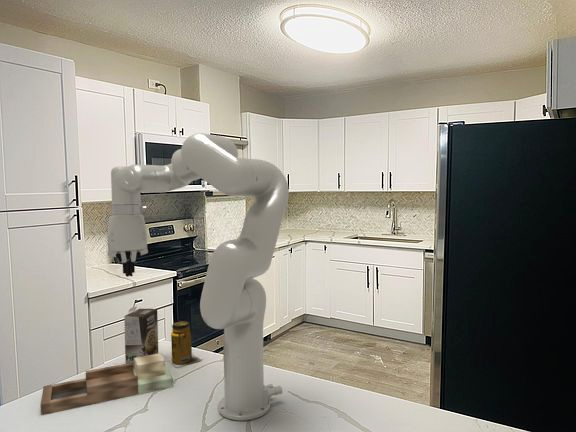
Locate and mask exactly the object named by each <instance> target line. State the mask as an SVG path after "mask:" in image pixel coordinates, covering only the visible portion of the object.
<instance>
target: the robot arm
mask: <svg viewBox="0 0 576 432" xmlns="http://www.w3.org/2000/svg"><path fill="white" fill-rule="evenodd" d="M171 156H172V157H171V163H169V164H165V165H156V164H131V165H127V166H125V165H124V166H123V165H121V166H114V167H113V168H111V170H110V180H111V181H110V185H111V210H112V212H111V213H112V215H110V216H108V217H109V218H108V225H107V226H108V227H107V248H108V249H107V256H108V257H113V258H117V259H118V260H120V261H121V262H122V273H123V274H125V276H126V277H127V278H128V277H133V276H134V275H133V274H134V273H136V272H135V271H136V270H135V269H136V267H135V262H137V261H136V260H138V258H139V257H140V256H144V255H146V254H148V253H149V250H148V236H147V226H146V221H145V217H144V214H142V213H144V212H147V206H146V205H145V206H144V205H142V204H141V203H142V202H141V193H142V194H145V193H146V194H149V193H167V192H168V193H169V192H172V191H175V190H178V189H182V188H185V187H187V186H189V185H190V184H191V183H192V182H194V181H198V180H200V179H202V180H204V181H205V182H206V183H207V184H208V185H210V186H211V187H212V188H215V189H216V190H217V191H218V192H220V193H222V194H224V195H226V196H229V197H237V198H238V197H253V202H252V203H251V205H250V206H249V208H248V209H247V211H246V213H245V216H244V219H243V224H242V228H241V231H240V234H239V236H238V237H237V238H234V239H230V240H226V241H224V242H222V243H220V244H219V245H218V246H217V247H216V248H215V249H214V251H213V253H212V255H211V256H210V260H209V262H208V267H207V271H206V275H205V280H204V283H203V287H202V292H201V296H200V301H199V311H200V315H201V318H202V320H203V322H204V323H205V324H206V326H208V327H209V328H210V329H211V328H212V329H215V330H223V341H222V342H223V384H224V385H223V386H224V396H223V397H222V398H221V399H220V400H219V402H218V403H217V404H218V405H217V409H218V412H219V414H220V415H221V416H222V417H224V418H226V419H229V420H233V421H251V420H255V419H257V418H260V417H262V416H264V415H265V414H267V413H268V412H269V410H270V408H271V400H270V399H271V398H272V396H277V395H282V394H283V387H282V385H278V386H274V385H273V383H270V384H267V385H264V383H265V381H264V320H265V313H266V307H267V292H266V290H265V288H264V285H262V284H261V282H260V281H259V280H257V279H255V278H257V277H259V276H262V275H265V273H267V271H269V268H270V267H271V263H272V259H273V257H274V254H275V249H276V246H277V242H278V238H279V234H280V230H281V226H282V224H283V223H282V222H283V220H284V215H285V213H286V209H287V208H288V207H287V206H288V203H289V195H290V193H289V192H290V191H289V184H288V181H287V178H286V176H285V174H284V173H283V172H282V170H280V168H279V167H278V166H276V165H275V164H273V163H271V162H269V161H266V160H262V159H258V158H257V159H256V158H246V157H245V158H244V157H239V151H238V148H237V146H236V144H235V143H234V142H233V141H232V140H230V139H229V138H227V137H225V136H222V135H215V134H209V133H208V134H207V133H202V132H201V133H200V132H199V133H197V132H196V133H193V134H191V135H190V136H188V137H187V138H186V139H185V140H184V141H183V143H182V145H181V148H180V149H177V150H176V151H174V152H173V154H172V155H171ZM126 252H130V256H129V258H128V259H127V255H126Z"/></svg>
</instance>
